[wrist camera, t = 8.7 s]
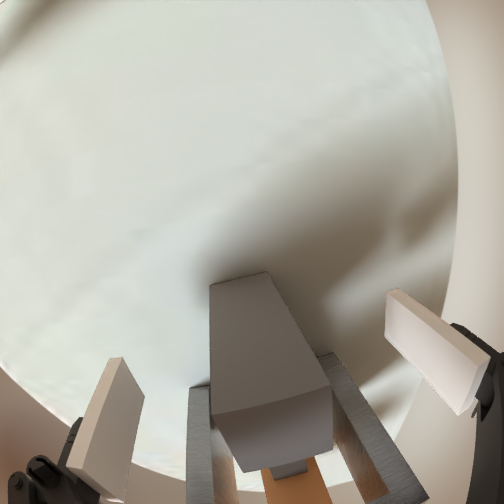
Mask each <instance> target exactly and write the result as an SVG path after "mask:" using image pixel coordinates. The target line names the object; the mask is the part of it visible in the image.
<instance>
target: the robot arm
mask: <svg viewBox="0 0 504 504" xmlns="http://www.w3.org/2000/svg"><path fill="white" fill-rule="evenodd" d="M384 337H385V338H386V339H387V340H388V341H389V342H390V343H391V344H392V345H393V346H394V347H395V348H396V349H397V350H398V351H399V352H400V353H401V355H402V356H403V357H404V358H405V359H406V360H407V361H408V362H409V363H410V364H411V365H412V366H413V367H414V368H415V369H416V370H417V371H418V372H419V374H420V375H421V376H422V377H423V378H424V379H425V380H426V381H427V382H428V383H429V384H430V385H431V386H432V388H433V389H434V390H435V391H436V392H437V393H438V394H439V395H440V396H441V397H442V398H443V400H444V401H445V402H446V403H447V404H448V405H449V406H450V407H451V408H452V410H453V411H455V413H456V414H457V415H459V414H461V413H462V412H464V411H465V410H466V409H467V408H469V407H470V406H471V404H472V402H473V400H474V398H475V397H476V398H477V399H478V400H479V401H478V403H477V405H476V407H475V409H474V411H473V413H472V416H471V417H472V418H473V417H474V416H475V414H476V412H477V426H476V427H477V428H476V442H475V453H474V462H473V469H472V476H471V482H470V487H469V493H468V497H467V501H466V504H504V352H502V353H501V354H500V353H498V352H497V351H496V350H494V349H493V348H492V347H491V346H489V345H488V344H487V343H485V342H484V341H483V340H481V339H480V338H479V337H478V338H477V336H476V335H475V334H473V333H471V332H470V331H469V330H468V329H466V328H465V327H464V326H461V325H458V324H455V323H452V324H450V325H449V324H448V323H446V322H445V321H444V320H442V319H441V318H439V317H438V316H437V315H435V314H434V313H433V312H431V311H430V310H428V309H427V308H426V307H424V306H423V305H421V304H420V303H419V302H417V301H416V300H414V299H413V298H412V297H410V296H409V295H407V294H406V293H404V292H403V291H402V290H400V289H399V288H396V289H393V290H391V291H388V292H386V310H385V334H384ZM144 398H145V396H144V394H143V393H142V391H141V389H140V388H139V386H138V384H137V383H136V381H135V379H134V377H133V376H132V374H131V372H130V370H129V368H128V366H127V365H126V363H125V361H124V359H123V357H118V358H110V359H109V361H108V363H107V365H106V367H105V369H104V372H103V374H102V376H101V378H100V380H99V383H98V385H97V387H96V389H95V392H94V394H93V396H92V399H91V401H90V403H89V406H88V408H87V410H86V413H85V415H84V417H79V418H78V419H77V421H76V422H75V423H74V424H73V425H72V428H71V430H70V433H69V436H68V438H67V440H66V441H67V443H65V445H64V448H63V451H62V453H61V456H60V459H59V461H58V464H57V466H56V465H55V464H54V463H53V462H52V461H51V460H50V459H48V458H47V457H46V456H43V455H38V456H35V457H33V458H32V459H31V460H30V461H29V463H28V465H27V468H26V472H27V474H28V475H29V476H30V477H31V478H32V479H30V478H29V477H28V476H27V475H26V474H24V473H23V472H15V473H13V474H12V475H11V476H10V478H9V480H8V504H103V503H102V502H101V501H100V500H99V498H100V495H101V496H103V497H104V498H106V499H107V500H108V501H114V502H122V503H124V502H125V495H126V489H127V482H128V476H129V470H130V465H131V459H132V454H133V449H134V444H135V439H136V434H137V429H138V424H139V420H140V415H141V411H142V406H143V402H144Z"/></svg>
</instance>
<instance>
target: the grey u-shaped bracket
mask: <svg viewBox="0 0 504 504" xmlns="http://www.w3.org/2000/svg"><path fill="white" fill-rule="evenodd" d="M317 360H318V362H319V363H320V365H321V367H322V369H323V370H324V372H325V374H326V376H327V377H328V379H329V381H330V383H331V386H332V414H333V437H334V439H335V441H336V443H337V445H338V447H339V449H340V452H341V454H342V456H343V458H344V460H345V462H346V464H347V466H348V468H349V471H350V473H351V475H352V477H353V479H354V481H355V483H356V485H357V487H358V489H359V492H360V494H361V496H362V498H363V500H364V502H365V504H425V502H426V501H427V500H428V499H429V496H428V495H427V493H426V491H425V490H424V488H423V487H422V485H421V484H420V482H419V481H418V479H417V477H416V476H415V474H414V473H413V471H412V470H411V468H410V466H409V465H408V464H407V462H406V460H405V459H404V457H403V456H402V454H401V453H400V451H399V450H398V448H397V446H396V445H395V443H394V442H393V440H392V439H391V437H390V436H389V434H388V433H387V431H386V430H385V428H384V427H383V425H382V424H381V422H380V421H379V419H378V417H377V416H376V414H375V413H374V411H373V410H372V408H371V407H370V405H369V404H368V402H367V401H366V399H365V398H364V396H363V395H362V393H361V392H360V390H359V389H358V387H357V386H356V384H355V383H354V381H353V380H352V378H351V377H350V375H349V374H348V372H347V371H346V369H345V368H344V366H343V365H342V363H341V362H340V360H339V359H338V358H337V356H336V355H335V353H334V352H333V353H331V354H328V355H324V356H321V357H318V358H317ZM186 504H239V501H238V494H237V487H236V479H235V472H234V464H233V456H232V453H231V451H230V449H229V447H228V445H227V444H226V442H225V440H224V438H223V436H222V434H221V432H220V431H219V429H218V427H217V425H216V423H215V421H214V419H213V417H212V415H211V390H210V387H209V385H207V386H201V387H196V388H190V389H189V399H188V418H187V444H186Z"/></svg>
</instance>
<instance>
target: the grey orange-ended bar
mask: <svg viewBox="0 0 504 504" xmlns="http://www.w3.org/2000/svg"><path fill="white" fill-rule="evenodd" d="M209 324H210V388H211V415H212V417H213V419H214V421H215V423H216V425H217V427H218V429H219V431H220V432H221V434H222V436H223V438H224V440H225V442H226V444H227V445H228V447H229V449H230V451H231V453H232V454H233V456H234V458H235V460H236V461H237V463H238V465H239V466H240V468H241V470H242V472H243V473H246V472H252V471H257V470H261V475H262V479H263V484H264V489H265V493H266V498H267V502H268V504H332V501H331V498H330V496H329V493H328V491H327V488H326V486H325V483H324V481H323V478H322V475H321V473H320V470H319V468H318V465H317V463H316V460H315V457H314V456H315V455H319V454H322V453H325V452H328V451H330V450H333V414H332V386H331V383H330V381H329V379H328V377H327V376H326V374H325V372H324V370H323V369H322V367H321V365H320V363H319V362H318V360H317V358H316V356H315V355H314V353H313V351H312V349H311V347H310V346H309V344H308V342H307V340H306V339H305V337H304V335H303V333H302V332H301V330H300V328H299V326H298V325H297V323H296V321H295V319H294V318H293V316H292V314H291V312H290V311H289V309H288V307H287V305H286V304H285V302H284V300H283V298H282V297H281V295H280V293H279V291H278V290H277V288H276V286H275V284H274V283H273V281H272V279H271V277H270V276H269V274H268V272H263V273H259V274H255V275H251V276H246V277H242V278H238V279H234V280H230V281H226V282H222V283H217V284H213V285H210V314H209Z"/></svg>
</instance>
